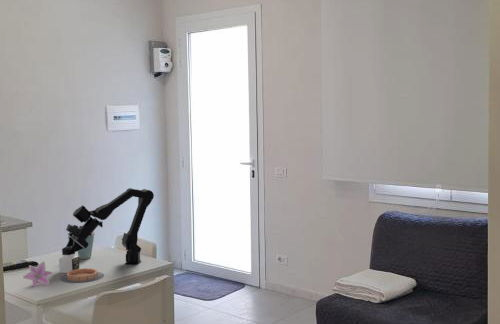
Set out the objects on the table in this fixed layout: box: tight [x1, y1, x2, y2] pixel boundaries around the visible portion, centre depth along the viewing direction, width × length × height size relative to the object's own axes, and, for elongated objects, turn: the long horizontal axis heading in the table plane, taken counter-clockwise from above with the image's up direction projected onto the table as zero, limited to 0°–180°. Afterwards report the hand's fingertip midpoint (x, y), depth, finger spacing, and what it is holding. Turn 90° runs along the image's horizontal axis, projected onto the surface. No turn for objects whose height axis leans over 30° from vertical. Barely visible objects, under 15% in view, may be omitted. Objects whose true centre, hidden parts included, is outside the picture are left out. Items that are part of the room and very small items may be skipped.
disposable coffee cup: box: [77, 230, 96, 260], centre depth 320 cm, size 11×11×15 cm
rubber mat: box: [59, 271, 105, 284], centre depth 281 cm, size 20×20×1 cm
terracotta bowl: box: [66, 267, 99, 281], centre depth 281 cm, size 14×14×2 cm
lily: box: [22, 260, 53, 288], centre depth 270 cm, size 12×12×10 cm
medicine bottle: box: [58, 246, 81, 274], centre depth 291 cm, size 7×7×12 cm
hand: (66, 253), depth 290 cm, fingers open, 7 cm apart
